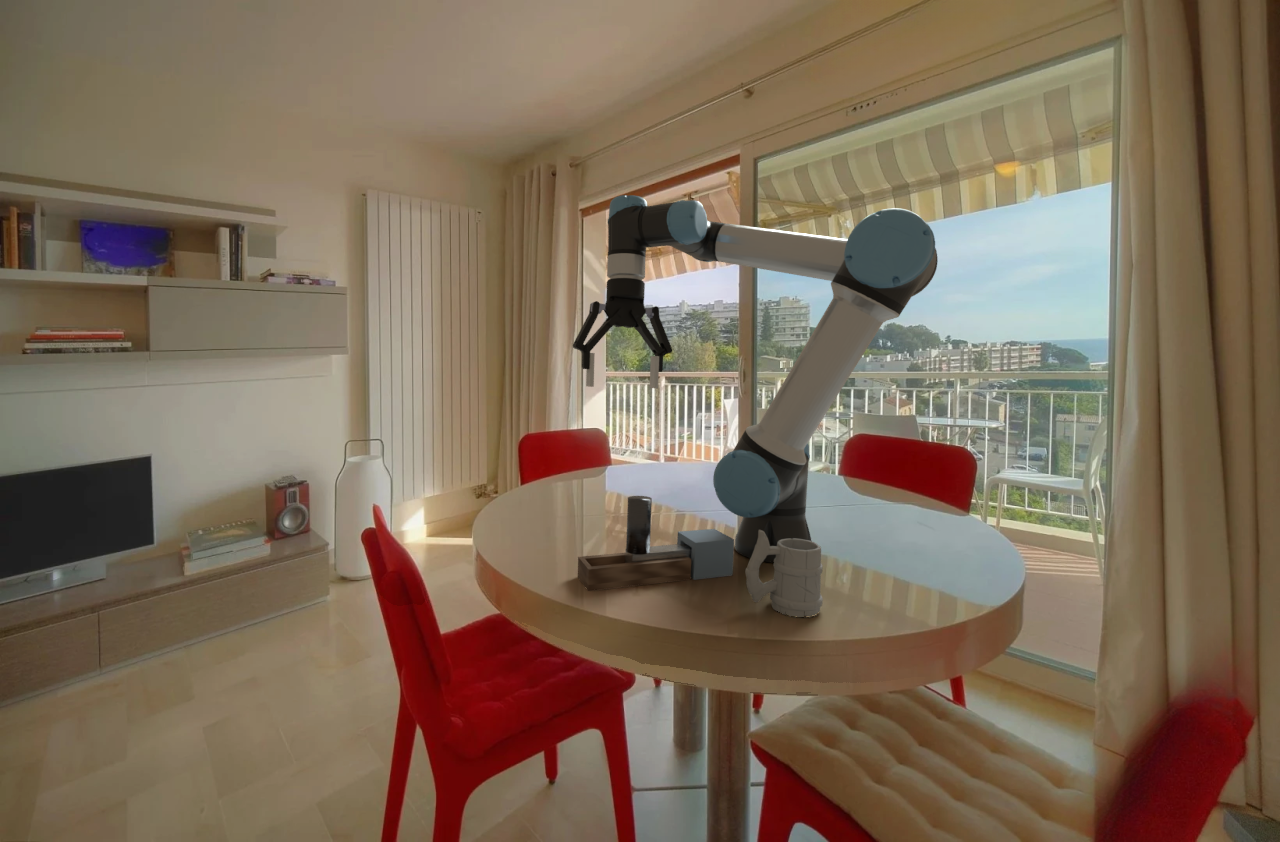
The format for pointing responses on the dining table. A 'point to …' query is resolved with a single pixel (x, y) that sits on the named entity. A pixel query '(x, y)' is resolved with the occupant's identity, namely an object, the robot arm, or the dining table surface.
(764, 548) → the mug
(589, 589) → the walnut channel
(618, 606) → the dining table surface
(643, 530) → the l-shaped peg bar
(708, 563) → the socket block
